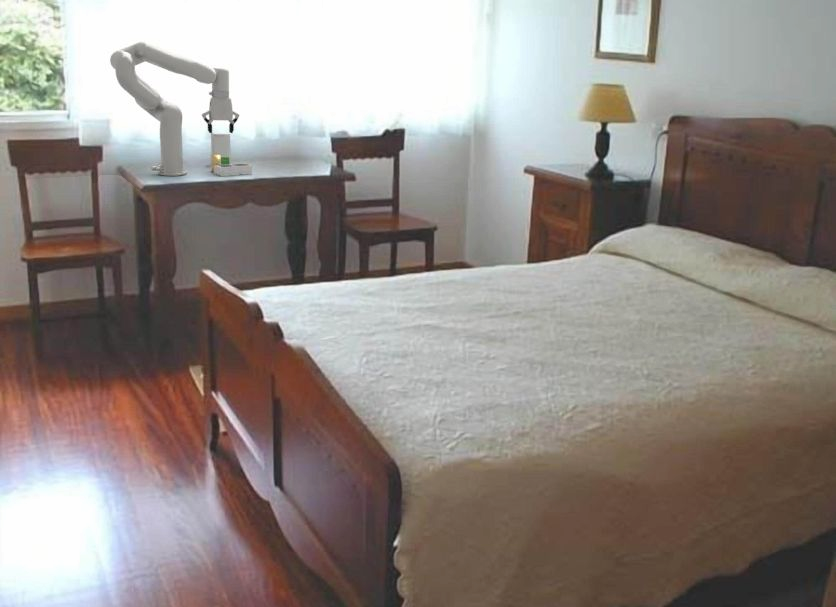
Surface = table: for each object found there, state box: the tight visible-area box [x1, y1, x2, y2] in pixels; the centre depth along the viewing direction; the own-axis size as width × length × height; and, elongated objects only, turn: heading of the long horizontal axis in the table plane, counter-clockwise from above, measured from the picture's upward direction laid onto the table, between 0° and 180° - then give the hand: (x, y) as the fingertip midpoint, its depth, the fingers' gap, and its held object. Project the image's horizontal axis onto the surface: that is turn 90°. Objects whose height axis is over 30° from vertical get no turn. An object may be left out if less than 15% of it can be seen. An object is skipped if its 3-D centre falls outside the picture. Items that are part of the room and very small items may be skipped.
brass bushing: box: [210, 154, 221, 173], centre depth 430 cm, size 4×4×8 cm
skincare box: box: [210, 132, 231, 165], centre depth 449 cm, size 8×7×16 cm
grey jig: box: [213, 162, 253, 177], centre depth 426 cm, size 15×8×4 cm, turn 124°
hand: (220, 132), depth 428 cm, fingers open, 9 cm apart
